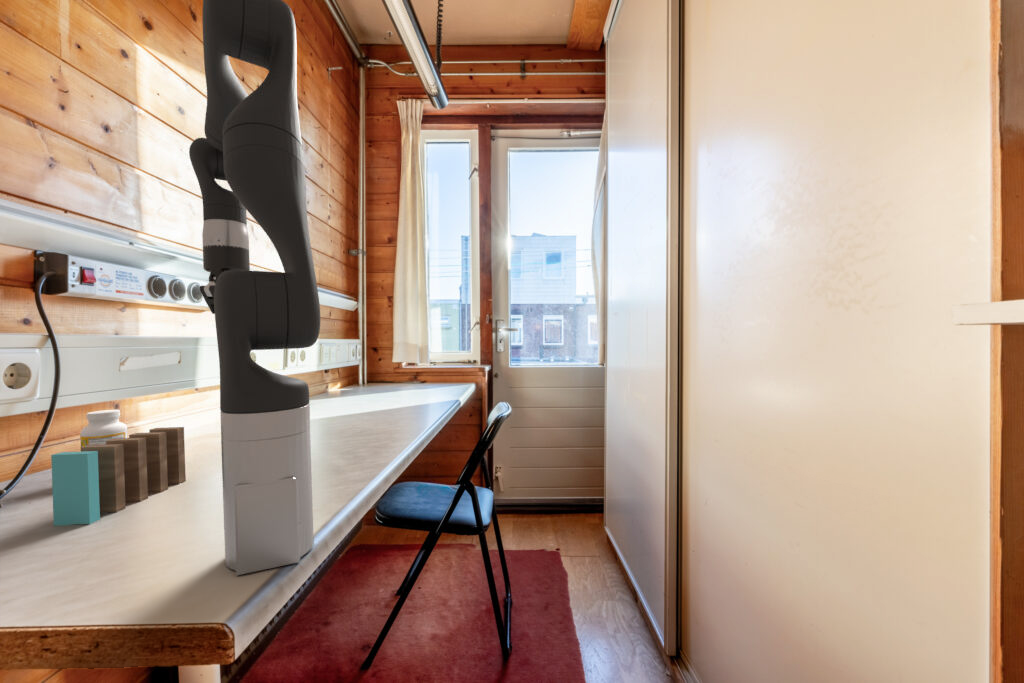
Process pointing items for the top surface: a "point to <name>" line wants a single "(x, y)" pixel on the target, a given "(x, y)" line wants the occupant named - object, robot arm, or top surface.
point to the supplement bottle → (102, 428)
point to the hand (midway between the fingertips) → (229, 337)
